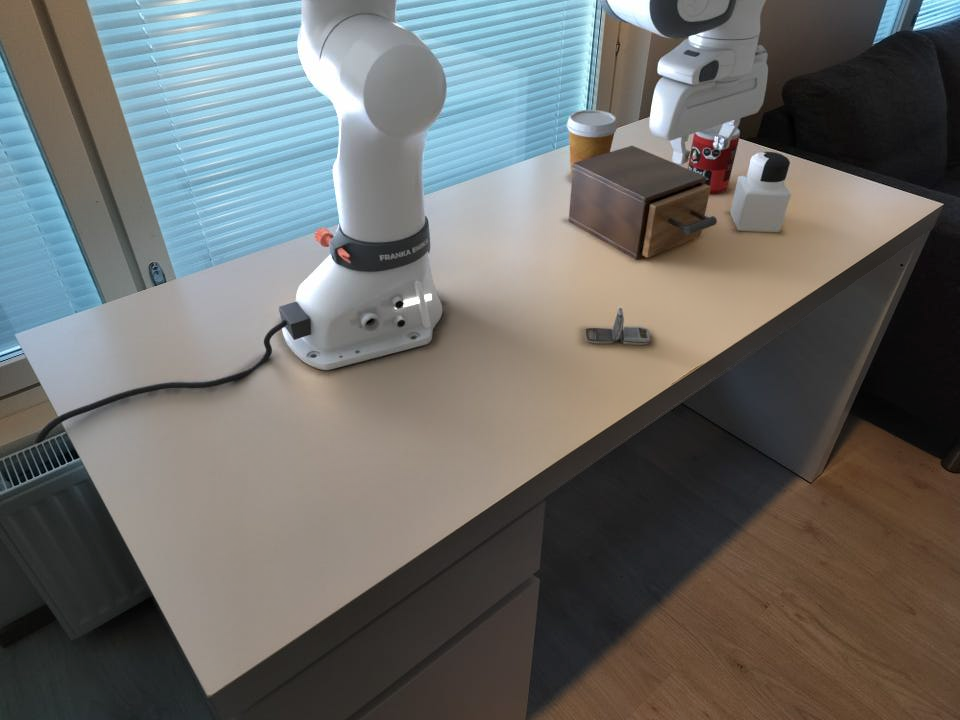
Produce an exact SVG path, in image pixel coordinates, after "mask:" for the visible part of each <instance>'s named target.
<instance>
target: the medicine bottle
mask: <svg viewBox="0 0 960 720" xmlns="http://www.w3.org/2000/svg"><path fill="white" fill-rule="evenodd" d="M749 161H750V162H749V165H748V169H747V174H746V175H739V176H738V177H737V181H736V185H735V188H734V194H733V196H732V197H733V198H732V202H731V206H730V210H729V214H730V216H731V218H732V221H733V223H734V226H735V228H736V231H738V232H753V233H780V232H781V229H782V226H783V223H784V220H785V217H786V213H787V209H788V205H789V202H790V198H791V193H790V190H789V189H788V188H787V186H786V184H785V183H786V178H787V175H788V172H789V168H790V165H791V161H790V160H789V158H788V157H787V156H785V155H783V154H782V153H779V152H774V151H761V152H757V153H754V154H753V155H752V156H751V157H750V160H749Z"/></svg>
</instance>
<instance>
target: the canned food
mask: <svg viewBox="0 0 960 720" xmlns="http://www.w3.org/2000/svg"><path fill="white" fill-rule="evenodd" d="M722 126H723V124H721V125H718V126H715V127H711V128H708V129H705V130H702V131H699V132H696V133H693V137H692V142H691V149H690V155H689V157H688V158H689V160H688V165H687V169H689V170H692V171H694V172H696V173H699V174H701V175H703V176H706V180H705V184H706V185H708V186H711V189H710V194H709V195H718V194H721V193H723V192H725V191H726V189H727V188H728V186H729V184H730V180H731V175H732V170H733V166H734V163H735V159H736V154H737V150H738V145H739V141H740V137H741V130H740V129H739V128H738V127H737V129H736V131H735V132H734V134H733V135H732V137H731V139H730V144H729V147H728V148H726V149H723V150H718V149H715V148H714V147H713V143H714V138H715V136H717V135H719V132H720V130H721V128H722Z"/></svg>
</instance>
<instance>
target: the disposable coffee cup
mask: <svg viewBox="0 0 960 720" xmlns="http://www.w3.org/2000/svg"><path fill="white" fill-rule="evenodd" d="M566 127H567V130H568V140H569V156H570V157H569V161H570V162H569V163H570V179H571V180H572V172H573V163H576V162H579V161H582V160H585V159H589V158H592V157H595V156H599V155H602V154H605V153H609V152H611V150H612V145H613V141H614V137H615V133H616V131H617V129H618V128H619V124H618V122H617V116H616V115H615V114H613V113H611V112H608V111H605V110H598V109H583V110H577V111H574V112H572V113H571V114H570V115H569V118H568V120H567V121H566Z"/></svg>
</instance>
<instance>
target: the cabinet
mask: <svg viewBox="0 0 960 720" xmlns="http://www.w3.org/2000/svg"><path fill="white" fill-rule="evenodd" d="M705 180H706V176H703V175H701V174H699V173H696V172H694V171H692V170H689V169H688V167H687V168H686V167H684V166H682V165H681V164H680V165H679V164H676V163H674V162H673V161H671V160H668V159H666V158H663V157H661V156H658V155H656V154H653V153H651V152H648V151H646V150H644V149H642V148H640V147H637V146H634V145H629V146H626V147H622V148H619V149H615V150H613V151H610V152H609V153H605V154H602V155H599V156H595V157H592V158H589V159H585V160H582V161H579V162H576V163H573V172H572V179H571V185H570V186H571V187H570V197H569V211H568V212H569V213H568V222H569V223H571V224H573V225H574V226H576V227H579V228H580V229H581V230H584V231H586V232H587V233H588V234H590V235H592V236H594V237H595V238H597V239H599V240H601V241H603V242H604V243H606V244H608V245H609V246H611V247H613V248H614V249H616V250H619V251H621V252H622V253H623V254H626V255H627V256H629V257H631V258H632V259H634V260H639V259H641V258H644V257H645V256H643V255H642V253H643V247H642V248H641V245H642V239H643V232H644V226H645V220H646V213H647V207H648V201H651V200H654V199H657V198H659V197H662V196H665V195H668V194H671V193H673V192H676V191H679V190H682V189H685V188H688V187H690V186H693V185H695V188H696V187H699V186H702V185H704V184H705Z"/></svg>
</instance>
